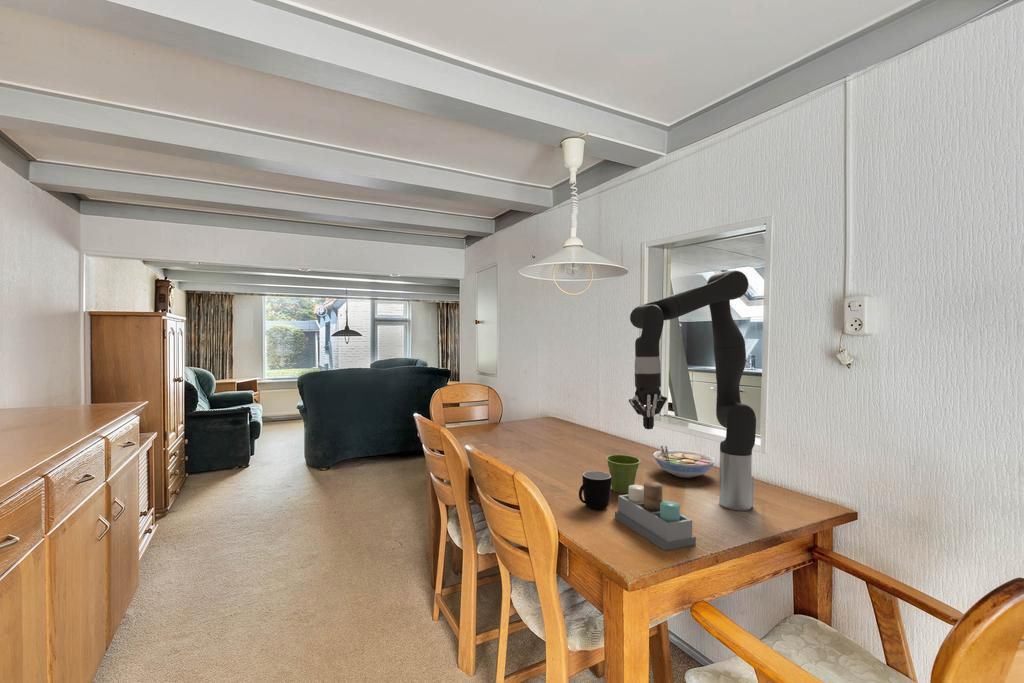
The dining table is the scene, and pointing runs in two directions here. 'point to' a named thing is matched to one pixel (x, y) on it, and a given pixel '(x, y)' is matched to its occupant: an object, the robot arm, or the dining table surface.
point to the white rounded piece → (636, 493)
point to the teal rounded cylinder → (670, 511)
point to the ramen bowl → (684, 462)
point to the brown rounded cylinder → (652, 496)
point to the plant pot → (622, 472)
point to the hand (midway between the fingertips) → (648, 428)
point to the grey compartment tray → (655, 525)
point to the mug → (596, 489)
